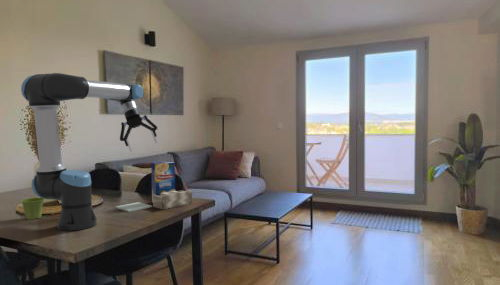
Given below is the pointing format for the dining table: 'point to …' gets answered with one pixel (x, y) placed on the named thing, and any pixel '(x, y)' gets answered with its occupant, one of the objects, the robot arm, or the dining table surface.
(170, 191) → the offcut stack
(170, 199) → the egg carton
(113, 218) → the dining table surface
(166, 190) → the blue food box
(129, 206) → the mat
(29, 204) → the plant pot
